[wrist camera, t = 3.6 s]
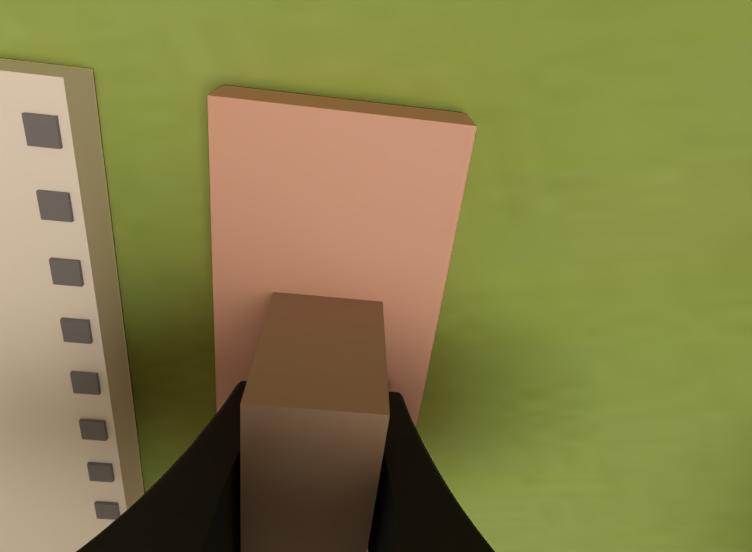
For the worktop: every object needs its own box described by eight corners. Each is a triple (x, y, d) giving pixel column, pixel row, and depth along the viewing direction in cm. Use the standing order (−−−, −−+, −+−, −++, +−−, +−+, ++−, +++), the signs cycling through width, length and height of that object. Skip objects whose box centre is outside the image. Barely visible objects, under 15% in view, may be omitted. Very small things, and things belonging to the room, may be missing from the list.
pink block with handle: (383, 546, 18) (390, 722, 13) (230, 538, 17) (186, 715, 13) (466, 113, 11) (528, 188, 7) (223, 84, 11) (132, 146, 7)
